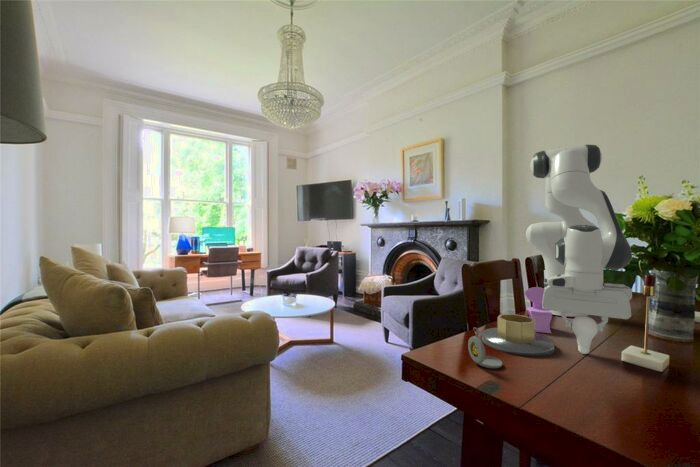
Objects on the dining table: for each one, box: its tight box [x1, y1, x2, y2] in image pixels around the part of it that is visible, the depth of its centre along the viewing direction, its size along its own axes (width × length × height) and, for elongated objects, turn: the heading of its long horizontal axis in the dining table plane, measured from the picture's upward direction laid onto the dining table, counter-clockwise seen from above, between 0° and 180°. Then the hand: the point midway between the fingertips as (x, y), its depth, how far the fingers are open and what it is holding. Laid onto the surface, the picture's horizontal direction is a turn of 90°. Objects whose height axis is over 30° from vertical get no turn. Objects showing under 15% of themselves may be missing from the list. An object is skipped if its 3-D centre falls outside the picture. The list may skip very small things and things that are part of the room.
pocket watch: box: [467, 327, 503, 369], centre depth 81 cm, size 8×8×10 cm
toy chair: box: [524, 286, 553, 334], centre depth 110 cm, size 8×9×15 cm
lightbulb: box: [571, 315, 598, 355], centre depth 88 cm, size 6×6×11 cm
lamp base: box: [481, 313, 555, 357], centre depth 96 cm, size 20×20×8 cm
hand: (583, 329), depth 88 cm, fingers closed on lightbulb, 6 cm apart
